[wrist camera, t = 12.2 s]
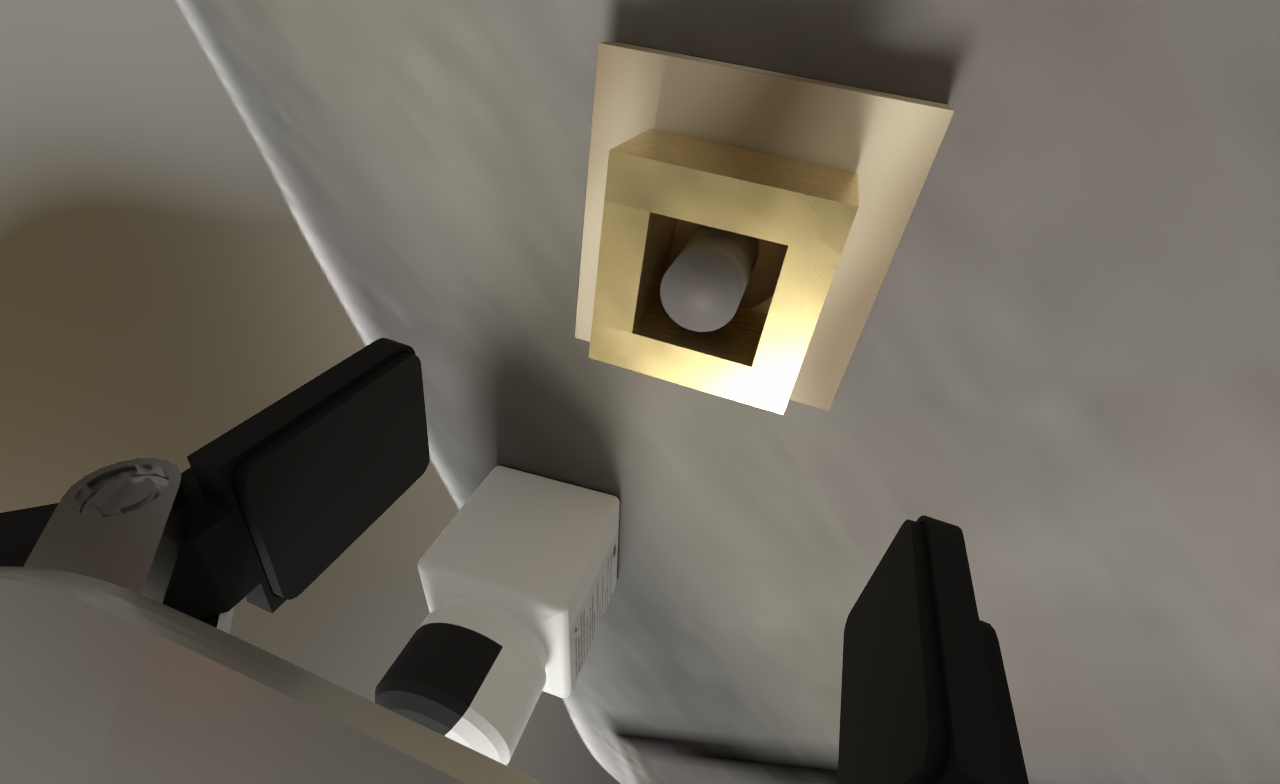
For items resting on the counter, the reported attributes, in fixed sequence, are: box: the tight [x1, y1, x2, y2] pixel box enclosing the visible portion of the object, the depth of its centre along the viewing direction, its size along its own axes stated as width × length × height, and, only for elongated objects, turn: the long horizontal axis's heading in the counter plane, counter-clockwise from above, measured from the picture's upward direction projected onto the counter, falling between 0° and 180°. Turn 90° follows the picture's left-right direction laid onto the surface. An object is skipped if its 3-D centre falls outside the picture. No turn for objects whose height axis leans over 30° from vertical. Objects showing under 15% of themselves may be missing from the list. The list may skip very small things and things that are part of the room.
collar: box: [589, 128, 859, 415], centre depth 19 cm, size 7×7×4 cm
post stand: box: [575, 42, 954, 411], centre depth 19 cm, size 11×11×6 cm
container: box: [375, 466, 620, 765], centre depth 29 cm, size 8×8×13 cm
